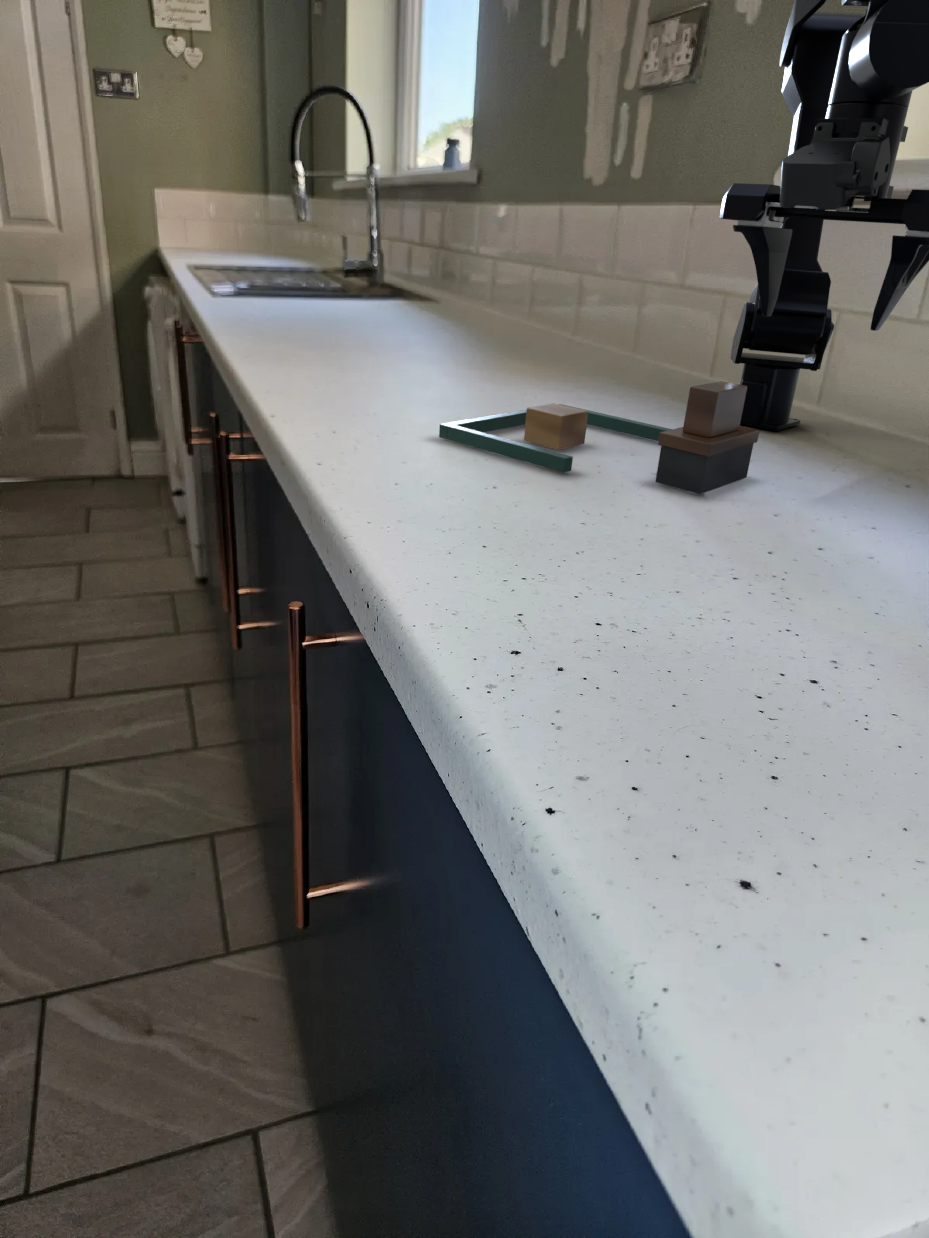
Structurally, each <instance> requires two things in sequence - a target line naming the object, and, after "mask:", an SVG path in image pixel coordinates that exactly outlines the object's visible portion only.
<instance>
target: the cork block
mask: <svg viewBox="0 0 929 1238" xmlns="http://www.w3.org/2000/svg"><path fill="white" fill-rule="evenodd" d="M559 404H560V403H554V402H552V403H546V404H543V405H541V404H540V405H536V406H535V405H534V406H530V407H527V408H526V409H527V413H526V423H525V425H524V434H523V435H524V436H523V441H524V442H527V443H532V444H536V445H540V446H543V447H546V448H551V449H554V450H557V451H559V450H563V449H568V448H571V447H577V446H581V445H584V444H585V443H586V442H585V441H586V434H587V425H588V424H587V418H588V411H585V410H586V409H585V410H581V409H582V408H581V409H577V408H578V407H576V408H572V407H573V406H572V407H568V406H569V405H567V406H563V405H564V404H563V405H559Z"/></svg>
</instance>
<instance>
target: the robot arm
mask: <svg viewBox="0 0 929 1238" xmlns="http://www.w3.org/2000/svg"><path fill="white" fill-rule="evenodd" d="M826 1H827V0H794V2H793V4H792V8H791V11H790V15H789V19H788V22H787V25H786V29H785V32H784V36H783V40H782V45H781V50H780V55H779V67H780V68H784V70H783V79H782V80H783V81H782V85H781V94H782V96H783V99H784V101H785V103H786V105H787V107H788V109H789V111H790V113H791V116H792V119H793V121H792V126H791V133H790V140H789V146H788V153H787V156H786V157H784V158H782V160H781V170H780V172H781V173H780V174H781V175H780V185H777V184H770V183H769V184H768V183H767V184H765V183H742V182H741V183H739V182H738V183H737V182H733V184H731V186H730V187H729V188H728V189H727V191H726V192H725V194H724V196H723V197H722V201H721V206H720V212H719V220H727V221H736V222H737V224H733V225H732V229H733V232H735V233H741V234H742V235H743V237H744V239H745V240H746V243H747V244H748V246H749V248H750V251H751V254H752V258H753V262H754V266H755V273H756V280H757V283H756V284H755V286H754V288H753V289H752V291H751V292H750V294H749V295H750V296H749V301H745V302H744V303H743V306H742V310H741V312H740V316H739V319H738V322H737V326H736V329H735V332H734V334H733V338H732V344H731V349H730V350H731V351H730V357H729V358H730V360H731V361H732V363H733V364H735V365H740V364H743V368H742V373H741V378H740V381H739V382H740V383H739V385H744V386H747V391H746V396H745V401H744V406H743V411H742V416H741V421H740V425H746V426H750V427H756V428H760V429H764V430H769V431H777V432H778V431H780V430H781V431H782V430H784V429H788V428H791V427H796V426H798V425H800V424H801V421H802V420H801V419H798V418H794V417H790V416H791V412H792V408H793V403H794V400H795V399H794V398H795V394H796V389H797V384H798V382H799V381H798V380H799V376H800V372H801V370H808V371H811V372H817V371H818V370H821V367H822V362H823V358H824V355H825V353H826V349H827V347H828V344H829V343H830V340H831V337H832V335H833V332H834V329H835V324H834V322H833V318H832V317H833V316H832V315H833V313H832V309H831V308H829V307H828V306H829V298H830V290H831V285H832V280H831V276H830V274H829V272H828V271H823V269H822V267H821V265H820V262H819V261H818V258H819V251H820V245H821V239H822V232H823V226H824V221H839V222H855V223H874V224H875V223H876V224H892V225H905V229H906V231H905V235H892V238H891V252H890V258H889V259H890V260H889V262H888V266H887V269H886V272H885V275H884V278H883V281H882V285H881V288H880V291H879V293H878V296H877V300H876V302H875V305H874V308H873V312H872V317H871V322H870V331H874V332H876V331H877V332H878V331H880V329H881V328H882V326H883V325H884V323H885V322H886V321H887V319H888V318H889V316H890V314H892V312H893V310H894V309H895V307H896V306H897V305H898V303H899V301H900V300H901V299H902V297H903V296H904V295H905V292H906V291H907V290H908V289H909V287H910V286H911V284H912V282H913V281H914V280H915V279H916V278H917V276H918V275H919V274H920V273H921V272H922V270H923V269H924V268H925V267H926V265H927V264H928V263H929V189H916V188H915V189H911V191H910V193H909V195H908V197H906V198H892V195H893V192H894V185H890V184H891V181H892V177H893V172H894V169H895V164H896V160H897V156H898V151H899V147H900V143H905V142H906V140H907V139H906V138H907V134H908V131H909V127H908V126H906V125H905V124H906V123H905V122H906V120H907V115H908V110H909V107H910V103H911V98H912V94H913V91H914V90H917V89H918V88H920V87H922V86H924V85H927V84H928V83H929V0H841V6H847V7H848V6H851V7H852V6H853V7H867V8H866V9H865V11H864V13H855V12H832V11H831V12H829V11H819V10H820V9H821V8H822V6H823V5H824V4H825V3H826ZM855 200H863V202H868V203H870V204H869V207H854V205H855ZM744 349H747V350H748V351H756V352H757V351H758V352H765V354H764V353H753V352H743V350H744ZM766 352H769V353H778V354H779V353H780V354H790V355H799V356H800V355H801V356H805V357H799V356H787V355H776V354H766Z"/></svg>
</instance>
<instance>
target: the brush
mask: <svg viewBox="0 0 929 1238" xmlns="http://www.w3.org/2000/svg"><path fill="white" fill-rule="evenodd" d="M746 391H747V386H744V385H740V383H739V384H737V383H732V382H728V381H721V380H719V381H715V382H709V383H704V384H697V385H693V386H690V387H689V392H688V397H687V403H686V409H685V415H684V420H683V426H680V427H676V428H671V429H672V430H668V431H664V432H660V435H659V441H657V445H658V446H660V449H659V450H660V451H659V455H658V456H659V457H658V463H657V470H656V475H655V483H657V484H660V485H664V486H667V487H670V488H671V487H672V488H674V489H679V490H682V491H686V492H689V493H694V494H697V495H703V494H705V493H708V492H710V491H714V490H716V489H718V488H722V487H724V486H728V485H730V484H732V483H735V482H738V481H742V480H744V479H747V477H748V472H749V467H750V463H751V458H752V453H753V449H754V444H755V443H757V442H758V440H759V436H760V430H759V429H755V428H751V427H746V426H742V425H741V424H740V421H741V416H742V411H743V406H744V401H745V396H746Z"/></svg>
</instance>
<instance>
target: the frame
mask: <svg viewBox="0 0 929 1238" xmlns="http://www.w3.org/2000/svg"><path fill="white" fill-rule="evenodd" d="M558 404H559V405H563V406H568V407H572V408H577V409H581V410H585V411H588V418H587V425H589V426H592V427H596V428H601V429H605V430H609V431H614V432H618V433H621V434H626V435H631V436H634V437H639V438H643V439H647V440H650V441H656V442H658V441H659V435H660V432H664V431H668V430H672V429H673V428H670V427H669V428H668V427H665V426H664V427H663V426H660V425H655V424H651V423H646V422H642V421H637V420H633V419H630V418H629V419H628V418H624V417H621V416H615V415H611V414H607V413H603V412H598V411H594V410H589V409H584V408H580V407H577V406H576V407H575V406H571V405H566V404H563V403H558ZM526 413H527V408H526V409H521V410H520V409H519V410H516V411H515V410H513V411H510V412H504V413H497V414H492V415H485V416H480V417H479V416H478V417H473V418H468V419H461V420H456V421H450V422H444V423H439V429H438V430H439V431H438V433H439V434H438V437H439V438H440V439H444V440H448V441H451V442H455V443H458V444H461V445H465V446H468V447H472V448H476V449H479V450H483V451H487V452H490V453H493V454H497V455H500V456H504V457H507V458H510V459H514V460H518V461H521V462H525V463H529V464H532V465H535V466H539V467H543V468H546V469H548V470H549V469H550V470H554V471H556V472H561V473H564V474H565V473H568V472H571V471H572V468H573V460H574V457H573V456H572V455H569V454H565V453H560V452H557V451H553V450H549V449H546V448H542V447H538V446H534V445H531V444H528V443H524V442H519V441H516V440H512V439H508V438H505V437H501V436H497V435H495V434H490V433H488V432H494V431H498V430H504V429H510V428H515V427H521V426H525V423H526Z"/></svg>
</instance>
